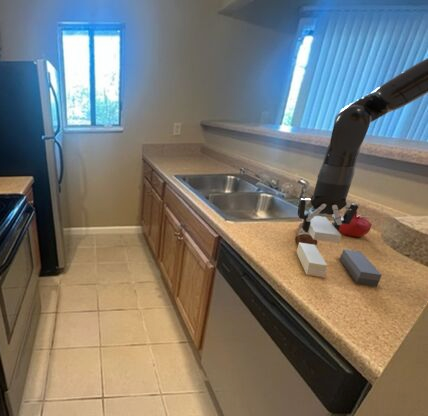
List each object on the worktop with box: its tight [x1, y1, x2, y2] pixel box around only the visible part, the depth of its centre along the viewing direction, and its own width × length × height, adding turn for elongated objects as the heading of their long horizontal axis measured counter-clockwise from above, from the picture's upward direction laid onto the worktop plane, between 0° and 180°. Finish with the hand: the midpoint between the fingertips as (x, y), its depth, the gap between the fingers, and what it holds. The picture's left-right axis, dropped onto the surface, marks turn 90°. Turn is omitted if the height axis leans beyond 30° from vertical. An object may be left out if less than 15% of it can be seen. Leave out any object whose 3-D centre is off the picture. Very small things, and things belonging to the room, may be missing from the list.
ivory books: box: [296, 243, 328, 279], centre depth 87 cm, size 4×14×4 cm, turn 157°
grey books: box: [339, 248, 382, 288], centre depth 83 cm, size 4×14×4 cm, turn 157°
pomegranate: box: [338, 210, 373, 238], centre depth 105 cm, size 10×10×9 cm
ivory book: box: [301, 215, 343, 244], centre depth 83 cm, size 6×14×2 cm, turn 157°
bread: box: [294, 222, 318, 246], centre depth 103 cm, size 6×19×6 cm, turn 143°
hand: (318, 232), depth 84 cm, fingers closed on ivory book, 6 cm apart
